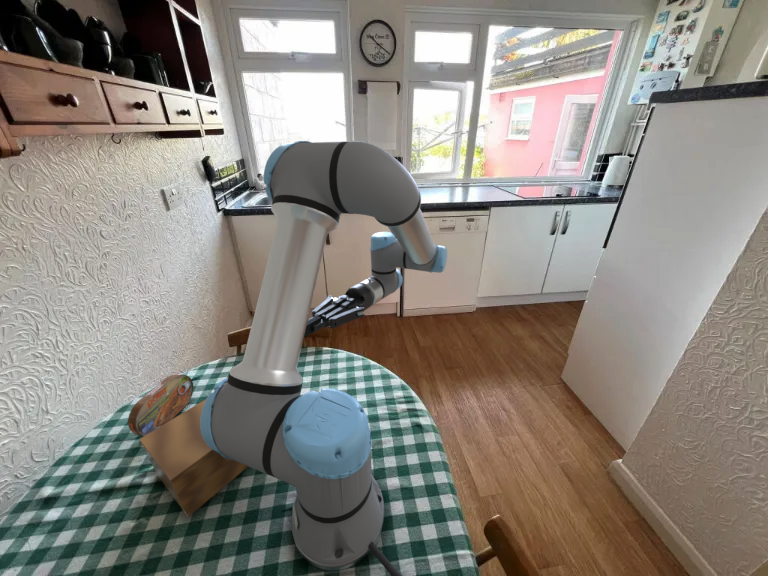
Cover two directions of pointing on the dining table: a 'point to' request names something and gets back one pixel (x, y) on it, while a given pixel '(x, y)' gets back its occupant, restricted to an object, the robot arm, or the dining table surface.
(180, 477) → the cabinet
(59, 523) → the dining table surface
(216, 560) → the dining table surface
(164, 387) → the tin
